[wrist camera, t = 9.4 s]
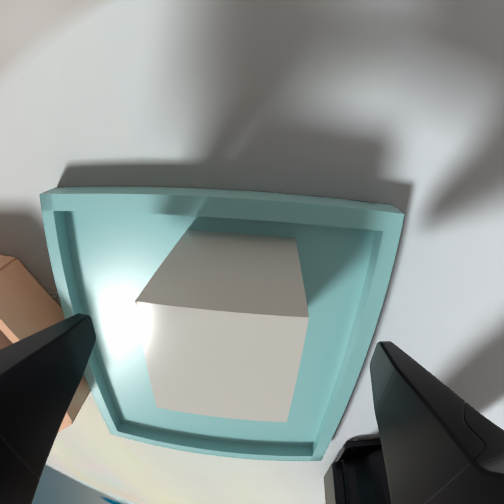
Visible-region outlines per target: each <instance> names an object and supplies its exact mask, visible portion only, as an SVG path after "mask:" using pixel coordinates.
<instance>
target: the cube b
mask: <svg viewBox="0 0 504 504" xmlns="http://www.w3.org/2000/svg"><path fill="white" fill-rule="evenodd" d="M11 344H13V343H12V342H11V341H10V340H9V339H8V338H7V336H6V335H5V334H4V333H3V332H2V331H1V330H0V349H3V348H5V347H7V346H9V345H11Z"/></svg>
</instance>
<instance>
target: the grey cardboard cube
mask: <svg viewBox="0 0 504 504" xmlns="http://www.w3.org/2000/svg"><path fill="white" fill-rule="evenodd" d="M135 305H136V311H137V317H138V323H139V329H140V334H141V340H142V345H143V350H144V355H145V359H146V364H147V369H148V373H149V378H150V382H151V386H152V390H153V394H154V398H155V402H156V406H157V408H163V409H168V410H174V411H179V412H186V413H192V414H199V415H206V416H214V417H222V418H232V419H242V420H255V421H271V422H287V419H288V415H289V410H290V406H291V402H292V398H293V393H294V389H295V384H296V380H297V375H298V371H299V366H300V361H301V356H302V351H303V347H304V341H305V336H306V331H307V326H308V321H309V314H308V308H307V302H306V296H305V290H304V284H303V278H302V272H301V266H300V261H299V255H298V250H297V244H296V239H295V237H283V236H270V235H256V234H243V233H228V232H214V231H199V230H186V231H185V233H184V234H183V235H182V237H181V238H180V239H179V241H178V242H177V243H176V245H175V246H174V247H173V249H172V250H171V251H170V253H169V254H168V256H167V257H166V258H165V260H164V261H163V262H162V264H161V265H160V266H159V268H158V269H157V271H156V272H155V273H154V275H153V276H152V278H151V279H150V280H149V282H148V283H147V285H146V286H145V287H144V289H143V290H142V292H141V293H140V295H139V296H138V297H137V299H136V300H135Z"/></svg>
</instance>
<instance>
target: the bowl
mask: <svg viewBox="0 0 504 504" xmlns="http://www.w3.org/2000/svg"><path fill="white" fill-rule="evenodd" d="M64 319H65V317H64V314H63V310H62V307H61V306H60V305H59V304H58V303H57V302H56V301H55V300H54V299H53V298H52V297H51V296H50V295H49V294H48V293H47V292H46V290H45V289H44V288H43V287H42V286H41V285H40V284H39V283H38V282H37V280H36V279H35V278H34V277H33V276H32V275H31V274H30V272H29V271H28V270H27V269H26V268H25V267H24V265H23V264H22V263H21V262H20V261H19V259H17V260H16V257H12V256H5V255H0V330H1V331H2V332H3V333H4V334H5V335H6V336H7V338H8V339H9V340H10V341H11V342H12V343H15V342H17V341H19V340H22V339H24V338H26V337H28V336H30V335H32V334H34V333H37V332H39V331H41V330H43V329H45V328H47V327H49V326H52V325H54V324H56V323H58V322H60V321H62V320H64ZM90 391H91V390H90V388H89V385H88V383H87V380H86V378H85V375H84V374H83V377H82V379H81V382H80V384H79V386H78V388H77V390H76V392H75V395H74V397H73V399H72V401H71V403H70V406H69V408H68V410H67V412H66V415H65V417H64V419H63V421H62V424H61V426H60V428H59V431H61V430H62V429H64V428H66V427H67V426H69V425H71V424H72V423H73V421H74V420H75V418H76V416H77V414H78V412H79V410H80V409H81V407H82V405H83V403H84V401H85V400H86V398H87V396H88V394H89V393H90ZM59 431H58V432H59Z"/></svg>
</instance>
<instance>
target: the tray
mask: <svg viewBox="0 0 504 504" xmlns="http://www.w3.org/2000/svg"><path fill="white" fill-rule="evenodd" d="M40 201H41V209H42V216H43V223H44V230H45V236H46V241H47V247H48V252H49V257H50V262H51V266H52V271H53V275H54V280H55V284H56V288H57V292H58V296H59V299H60V303H61V307H62V310H63V314H64V317H65V319H67V318H69V317H71V316H73V315H75V314H78V313H83V314H88V315H90V317H91V319H92V322H93V326H94V330H95V333H96V342H95V344H94V347H93V350H92V352H91V355H90V358H89V361H88V363H87V366H86V369H85V372H84V375H85V378H86V380H87V383H88V385H89V388H90V390H91V392H92V395H93V397H94V399H95V402H96V404H97V406H98V408H99V410H100V413H101V415H102V417H103V419H104V421H105V423H106V425H107V427H108V429H109V431H110V433H111V434H113V435H116V436H120V437H123V438H127V439H131V440H135V441H139V442H143V443H147V444H152V445H156V446H161V447H166V448H171V449H176V450H182V451H187V452H194V453H200V454H207V455H215V456H223V457H232V458H243V459H256V460H275V461H321V460H322V458H323V456H324V454H325V452H326V450H327V448H328V446H329V444H330V441H331V439H332V437H333V435H334V433H335V431H336V429H337V426H338V424H339V422H340V420H341V417H342V415H343V413H344V411H345V408H346V406H347V403H348V401H349V399H350V396H351V394H352V391H353V389H354V386H355V384H356V381H357V379H358V376H359V373H360V371H361V368H362V365H363V363H364V360H365V357H366V354H367V351H368V348H369V346H370V343H371V340H372V337H373V334H374V331H375V328H376V324H377V321H378V318H379V315H380V311H381V308H382V305H383V301H384V298H385V294H386V291H387V287H388V284H389V280H390V276H391V272H392V268H393V264H394V260H395V256H396V252H397V247H398V243H399V239H400V234H401V229H402V224H403V219H404V213H402V212H401V211H400V210H398V209H397V208H396V207H394V206H393V205H388V204H380V203H372V202H364V201H355V200H346V199H337V198H327V197H317V196H306V195H295V194H283V193H270V192H256V191H241V190H223V189H202V188H175V187H56V188H54V189H51V190H49V191H46V192H44V193H42V194H40ZM186 230H199V231H214V232H228V233H243V234H256V235H270V236H283V237H295V239H296V244H297V250H298V255H299V261H300V266H301V272H302V278H303V284H304V290H305V296H306V302H307V308H308V314H309V321H308V326H307V331H306V336H305V341H304V347H303V351H302V356H301V361H300V366H299V371H298V375H297V380H296V384H295V389H294V393H293V398H292V402H291V406H290V410H289V415H288V419H287V422H271V421H255V420H242V419H232V418H222V417H214V416H206V415H199V414H192V413H186V412H179V411H174V410H168V409H163V408H157V406H156V402H155V398H154V394H153V390H152V386H151V382H150V378H149V373H148V369H147V364H146V359H145V355H144V350H143V345H142V340H141V334H140V329H139V323H138V317H137V311H136V305H135V300H136V299H137V297H138V296H139V295H140V293H141V292H142V290H143V289H144V287H145V286H146V285H147V283H148V282H149V280H150V279H151V278H152V276H153V275H154V273H155V272H156V271H157V269H158V268H159V266H160V265H161V264H162V262H163V261H164V260H165V258H166V257H167V256H168V254H169V253H170V251H171V250H172V249H173V247H174V246H175V245H176V243H177V242H178V241H179V239H180V238H181V237H182V235H183V234H184V233H185V231H186Z"/></svg>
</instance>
